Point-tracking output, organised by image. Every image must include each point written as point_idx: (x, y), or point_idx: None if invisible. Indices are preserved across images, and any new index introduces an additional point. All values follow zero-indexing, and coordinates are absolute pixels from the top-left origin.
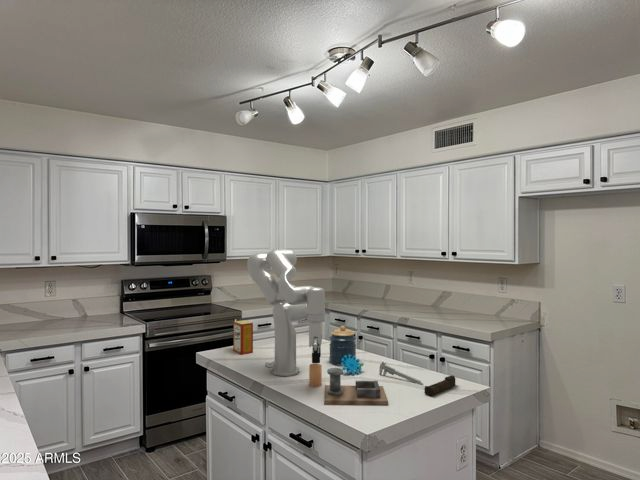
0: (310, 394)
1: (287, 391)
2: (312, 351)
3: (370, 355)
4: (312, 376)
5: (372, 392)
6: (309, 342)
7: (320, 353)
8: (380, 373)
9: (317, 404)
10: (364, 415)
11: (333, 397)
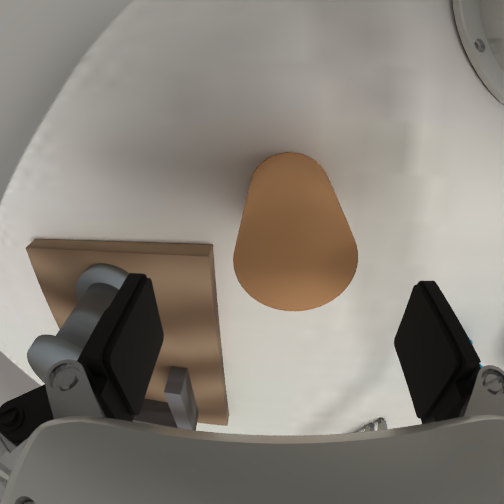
0: (119, 169)
1: (152, 26)
2: (47, 382)
3: None
4: (248, 198)
5: None
6: (6, 489)
7: (404, 368)
8: (378, 423)
9: (27, 213)
10: (24, 335)
11: (60, 283)
